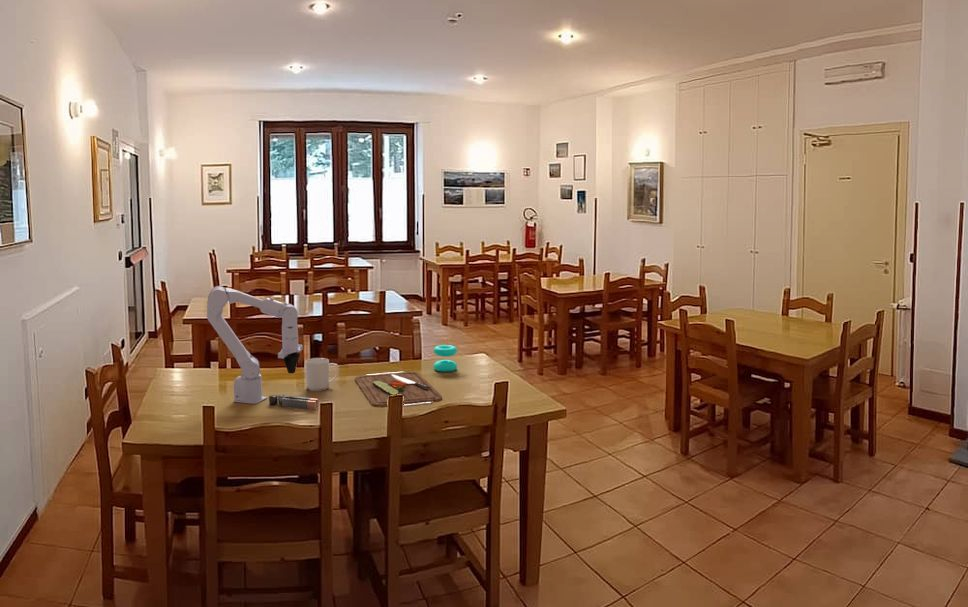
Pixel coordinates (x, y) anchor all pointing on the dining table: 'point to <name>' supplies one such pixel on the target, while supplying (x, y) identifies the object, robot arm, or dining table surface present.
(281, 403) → the bar
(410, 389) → the chopping board
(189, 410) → the dining table surface
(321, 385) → the mug
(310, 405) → the base
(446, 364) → the donuts
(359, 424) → the dining table surface
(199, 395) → the dining table surface
